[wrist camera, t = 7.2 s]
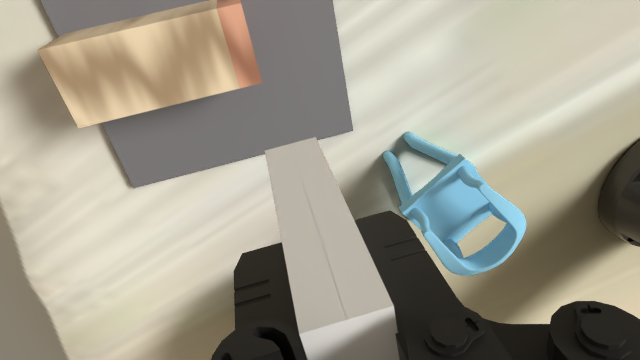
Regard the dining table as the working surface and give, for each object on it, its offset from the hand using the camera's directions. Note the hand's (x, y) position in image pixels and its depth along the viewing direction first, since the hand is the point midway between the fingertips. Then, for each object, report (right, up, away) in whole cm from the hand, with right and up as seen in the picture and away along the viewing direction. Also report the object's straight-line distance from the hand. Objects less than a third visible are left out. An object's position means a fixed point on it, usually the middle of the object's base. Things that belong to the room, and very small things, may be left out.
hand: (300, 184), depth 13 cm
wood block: (-4, +10, +16) cm, 19 cm away
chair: (+10, +1, +28) cm, 30 cm away
